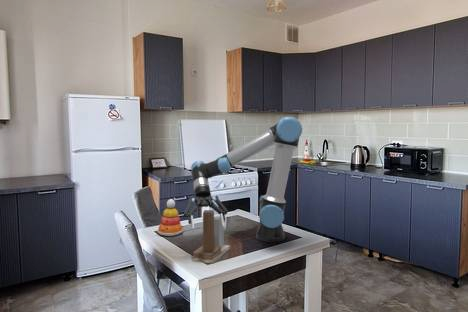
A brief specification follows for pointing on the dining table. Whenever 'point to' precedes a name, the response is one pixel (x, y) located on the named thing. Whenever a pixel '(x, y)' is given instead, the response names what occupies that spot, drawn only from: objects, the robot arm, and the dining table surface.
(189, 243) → the dining table surface
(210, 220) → the wooden block
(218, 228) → the grey pillar
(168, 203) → the stacking toy
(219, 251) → the base board
